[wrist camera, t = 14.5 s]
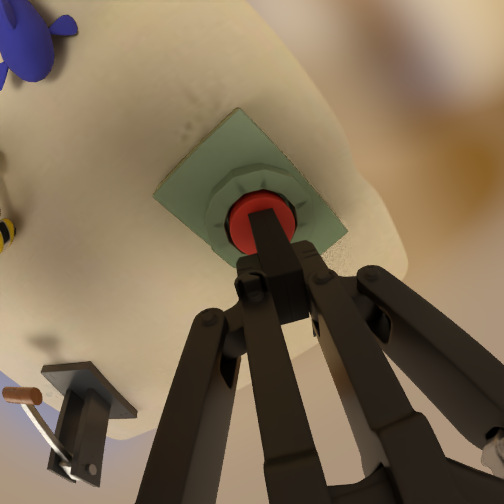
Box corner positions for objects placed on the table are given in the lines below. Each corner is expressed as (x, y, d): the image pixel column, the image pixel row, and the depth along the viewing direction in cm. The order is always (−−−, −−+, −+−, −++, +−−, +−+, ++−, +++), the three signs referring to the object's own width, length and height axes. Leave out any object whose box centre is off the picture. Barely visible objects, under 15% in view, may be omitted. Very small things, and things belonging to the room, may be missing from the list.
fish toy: (92, 56, 15) (83, 21, 9) (13, 116, 14) (-25, 106, 8) (40, -43, 8) (30, -82, 2) (-29, 8, 6) (-56, -19, 1)
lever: (9, 382, 20) (-2, 393, 18) (37, 382, 20) (26, 395, 18) (69, 464, 23) (62, 477, 20) (100, 469, 23) (95, 483, 20)
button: (215, 217, 19) (216, 229, 17) (261, 175, 18) (265, 183, 16) (256, 254, 21) (260, 268, 19) (300, 217, 20) (307, 228, 18)
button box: (157, 186, 20) (146, 206, 17) (237, 107, 18) (242, 108, 14) (266, 280, 25) (274, 310, 22) (338, 220, 23) (358, 243, 20)
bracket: (43, 365, 28) (14, 452, 17) (90, 361, 28) (65, 464, 17) (91, 412, 35) (78, 488, 23) (137, 411, 34) (130, 497, 23)
